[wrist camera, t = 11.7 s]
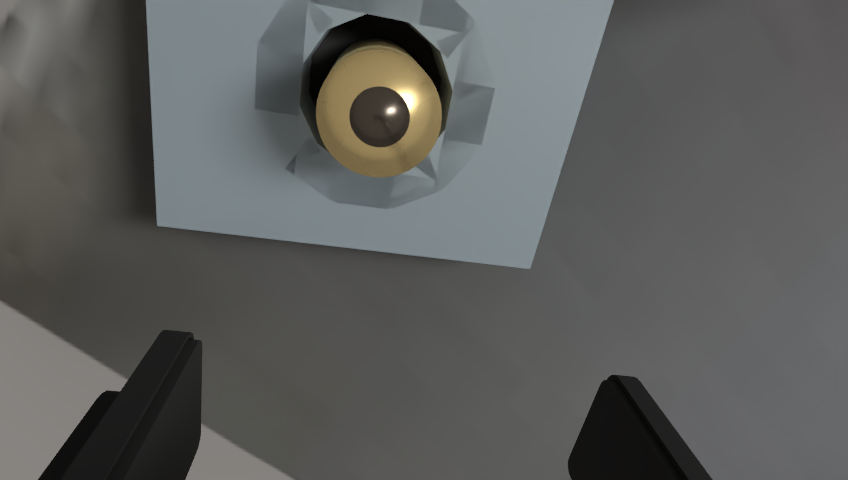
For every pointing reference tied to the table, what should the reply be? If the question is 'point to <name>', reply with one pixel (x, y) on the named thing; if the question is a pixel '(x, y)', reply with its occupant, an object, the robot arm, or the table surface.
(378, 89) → the bushing
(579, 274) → the table surface
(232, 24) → the plate
